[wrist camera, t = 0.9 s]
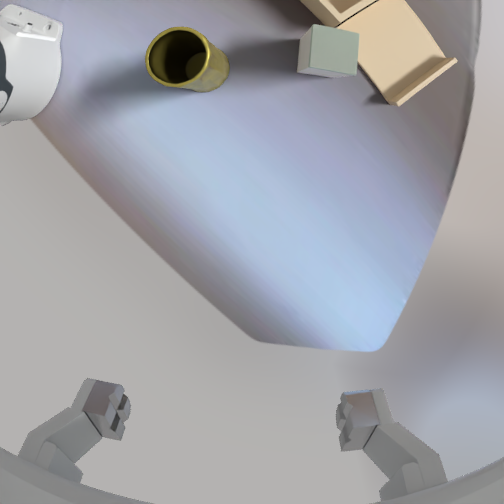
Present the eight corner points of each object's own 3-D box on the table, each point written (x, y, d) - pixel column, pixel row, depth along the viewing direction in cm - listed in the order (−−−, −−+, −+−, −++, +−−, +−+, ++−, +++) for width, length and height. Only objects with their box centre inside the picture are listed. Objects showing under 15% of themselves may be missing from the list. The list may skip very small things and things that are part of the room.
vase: (222, 96, 34) (204, 99, 21) (174, 87, 33) (131, 87, 20) (235, 51, 31) (225, 27, 18) (186, 42, 30) (150, 17, 17)
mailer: (261, -33, 25) (262, -49, 20) (329, -71, 20) (338, -86, 16) (389, 104, 33) (406, 107, 29) (445, 61, 29) (466, 61, 25)
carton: (296, 72, 32) (309, 66, 24) (299, 39, 30) (313, 24, 22) (333, 78, 32) (356, 75, 24) (336, 45, 30) (359, 33, 22)
